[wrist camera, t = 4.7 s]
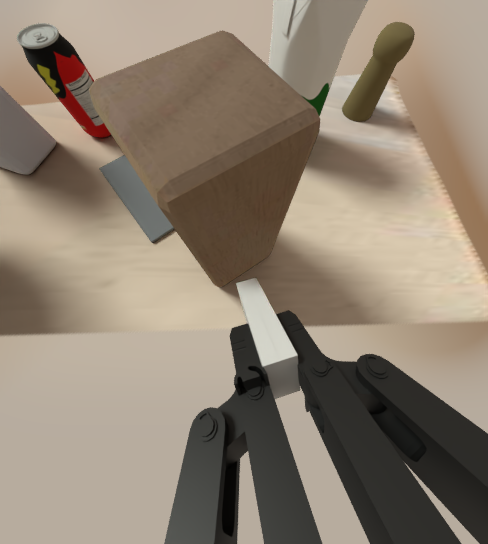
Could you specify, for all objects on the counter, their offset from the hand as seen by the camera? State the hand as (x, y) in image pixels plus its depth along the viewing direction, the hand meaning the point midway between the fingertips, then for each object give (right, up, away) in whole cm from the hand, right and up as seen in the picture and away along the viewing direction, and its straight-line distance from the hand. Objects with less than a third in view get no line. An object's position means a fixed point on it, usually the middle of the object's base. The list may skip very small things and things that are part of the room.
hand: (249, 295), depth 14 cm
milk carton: (+8, +27, +22) cm, 35 cm away
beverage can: (-28, +30, +22) cm, 46 cm away
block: (-3, +6, +15) cm, 17 cm away
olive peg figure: (+23, +35, +24) cm, 48 cm away
